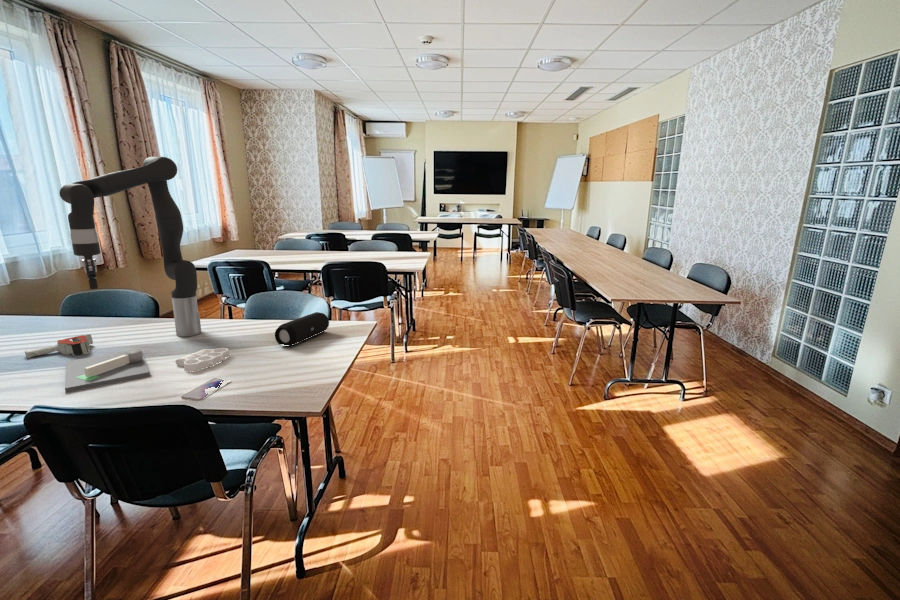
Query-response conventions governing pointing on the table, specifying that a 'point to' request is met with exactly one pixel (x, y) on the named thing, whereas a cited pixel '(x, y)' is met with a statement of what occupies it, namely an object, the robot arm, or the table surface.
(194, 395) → the smartphone
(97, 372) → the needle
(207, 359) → the grey paint palette
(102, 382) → the dial plate
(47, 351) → the tape dispenser
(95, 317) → the table surface
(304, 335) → the portable speaker
